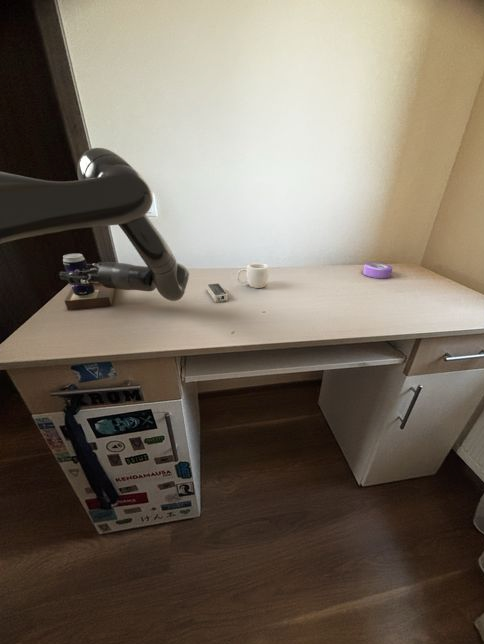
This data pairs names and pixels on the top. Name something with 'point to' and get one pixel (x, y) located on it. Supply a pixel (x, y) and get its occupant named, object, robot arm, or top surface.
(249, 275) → the mug
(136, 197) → the robot arm
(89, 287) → the beverage can
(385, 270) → the tape roll
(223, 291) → the multiport hub
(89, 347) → the top surface
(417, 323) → the top surface
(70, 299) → the wooden serving tray
